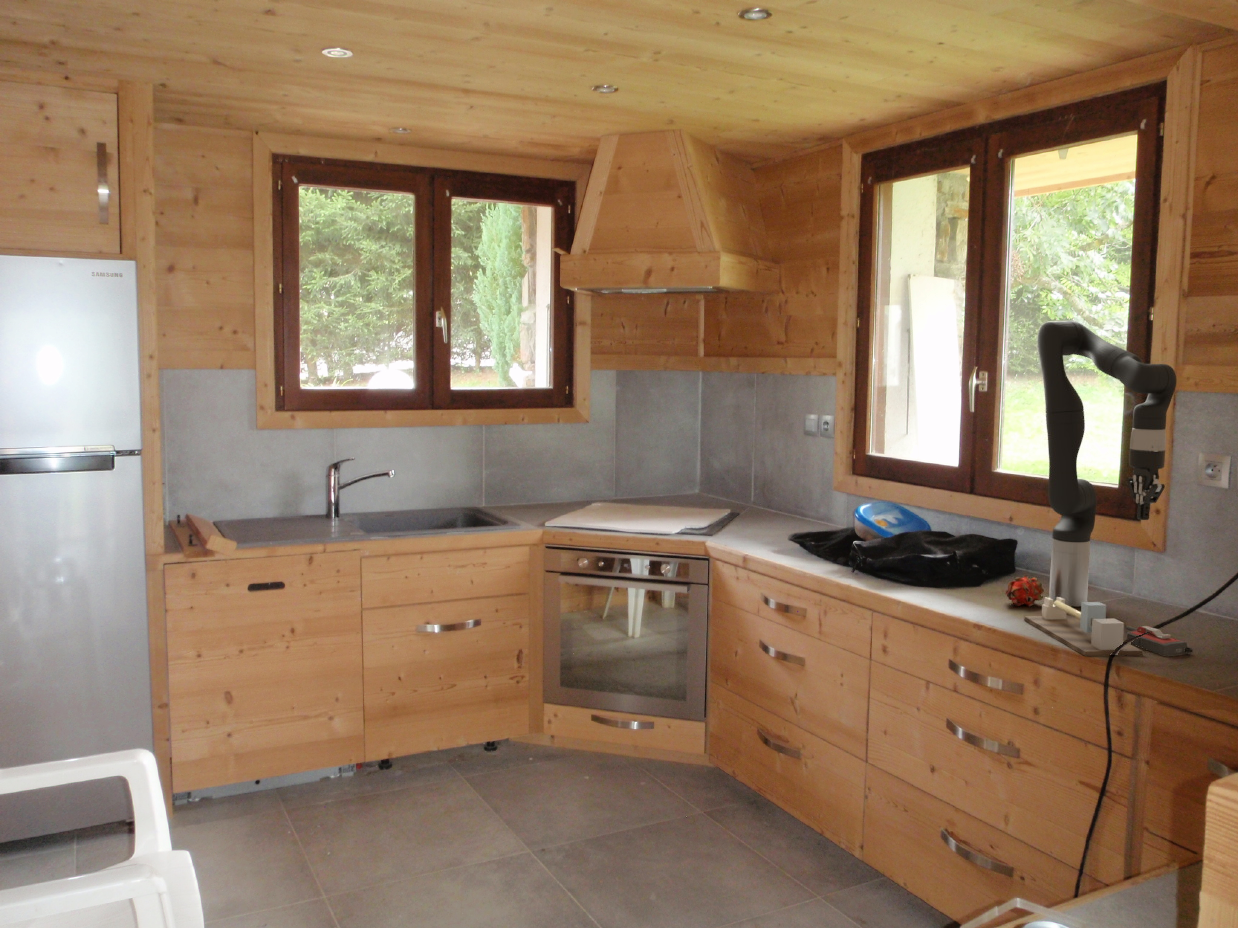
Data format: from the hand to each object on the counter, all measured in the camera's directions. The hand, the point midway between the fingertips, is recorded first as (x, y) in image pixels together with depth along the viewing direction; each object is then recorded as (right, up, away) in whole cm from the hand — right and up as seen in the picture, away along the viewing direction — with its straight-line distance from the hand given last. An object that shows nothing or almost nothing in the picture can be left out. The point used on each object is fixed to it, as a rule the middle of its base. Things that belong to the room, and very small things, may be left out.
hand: (1142, 519), depth 239 cm
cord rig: (-18, -27, -5) cm, 33 cm away
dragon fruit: (-19, -24, +24) cm, 39 cm away
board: (-18, -27, -5) cm, 33 cm away
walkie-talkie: (-5, -29, -11) cm, 31 cm away
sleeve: (-18, -25, -11) cm, 33 cm away
